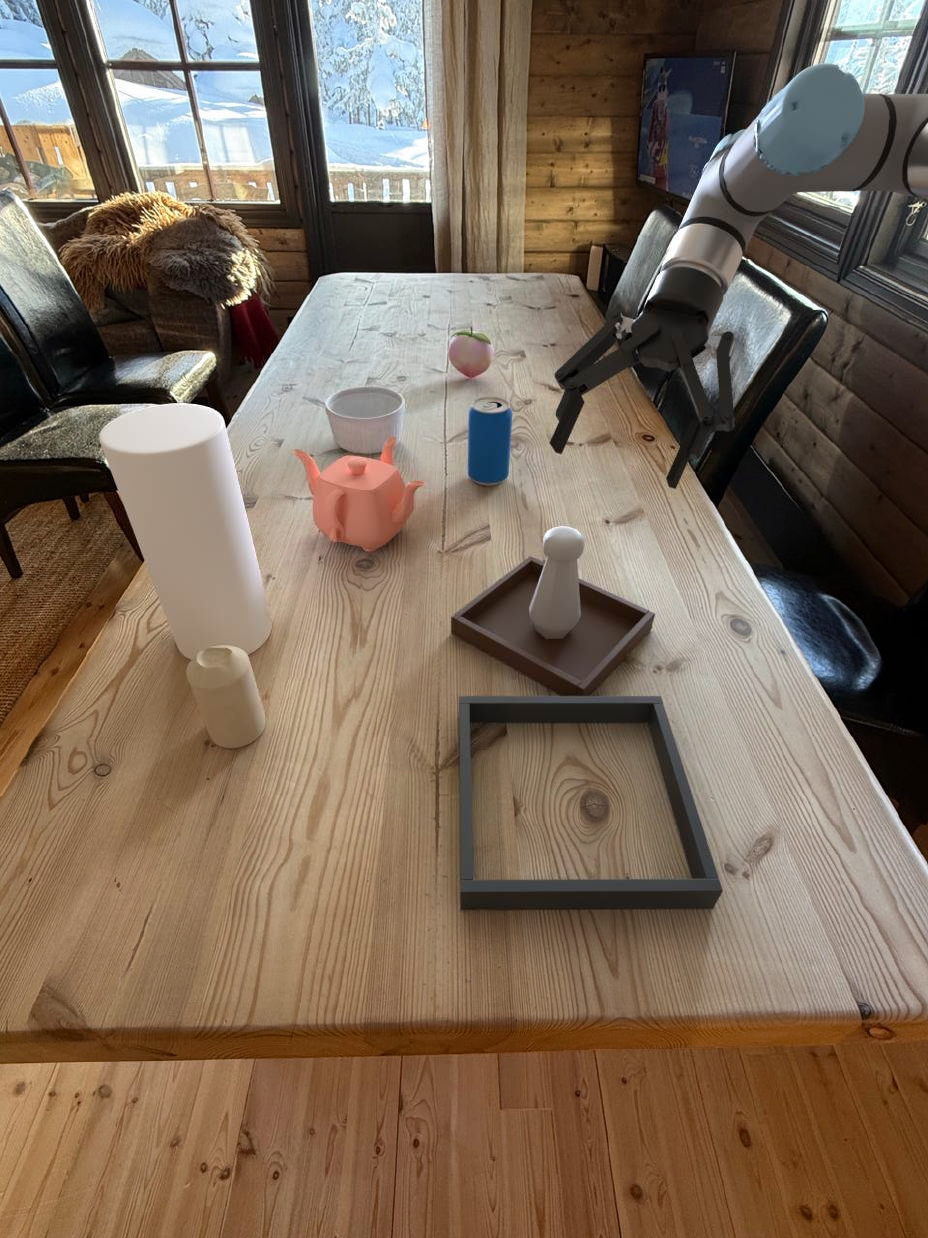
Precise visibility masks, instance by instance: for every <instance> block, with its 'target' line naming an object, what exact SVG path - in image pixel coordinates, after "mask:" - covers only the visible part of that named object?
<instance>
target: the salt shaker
mask: <svg viewBox="0 0 928 1238" xmlns="http://www.w3.org/2000/svg"><path fill="white" fill-rule="evenodd" d="M585 545H586V544H585V538H584V535H583V534H582V533H581V532H580V531H578V529H576V528H573V527H571V526H566V525H564V526H563V525H561V526H555V527H552V528H551V529H548V530H547V531H546V532H545V534H544V536H543V539H542V551H543V555H545V556H546V559H545V561H544V562H545V565H544V567H543V570H542V573H541V576H540V579H539V581H538V584H537V587H536V590H535V593H534V596H533V598H532V601H531V604H530V607H529V612H530V619H531V621H532V624H533V626H534V629H535V631H537V632H538V633H539V634H541V635H542V636H543V637H545V638H546V639H563V638H564V637H565V636H566V635H567V634H568V633H569V632H570V631H571V630H572V629H573V628H574V627H575V626H576V624H577V622H578V620H579V618H580V616H581V611H580V595H579V580H578V578H579V566H578V565H579V564H578V560H579V559H580V558H581V557H582V554H583V553H584V550H585Z"/></svg>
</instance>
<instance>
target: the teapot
mask: <svg viewBox="0 0 928 1238" xmlns="http://www.w3.org/2000/svg"><path fill="white" fill-rule="evenodd" d="M395 443H396V437H391V438H390V439H388V440H387V442H386V443H385V445H384V448H383V451H382V452H381V455H380V458H379V460H378V459H374V458H372V457H371V458H370V457H365V456H359V455H343V456H341V457H340V458H339V459H338V458H337V460H334V462H332V463H331V464H330V465H329V466H327V467H326V468H325V469H323V471H321V472H320V470H319V468H318V466H317V464H316V462H315V460H314V458H312V457H311V455H310V454H309V453H307V452H305V451H303V450H301V449H300V450H299V449H293V451H292V452H293V454H294V455H295V456H296V457H297V458H298V459H299V460H300V461H301V463H302V464H303V467H304V469H305V473H306V479H307V484H308V488H309V491H310V493H311V495H312V496H313V497H312V518H313V522H314V525H315V526H316V527H317V529H318V531H320V533H322V535H325V536H326V537H329V538H328V539H329V540H330V541H331V542H333V543H340V542H341V543H342V544H343V543H344V544H347V545H351V546H354V547H355V546H356V547H362V550H363V551H365V552H375V551H377V550H378V549H379V548H381V547H383V546H385V545H386V544H387V543H389V542H390V541H391V540H392V539H393V538H394V537H396V536H397V534H398V533H399V532H400V531H401V530H402V529H403V528H404V526H405V525H406V524H407V523H408V520H409V519H410V517H411V516H412V514H413V512H414V508H415V495H416V491H417V490H418V488H420V487H422V486H424V485H426V482H425V481H423V480H413V481H410V482H408V483H407V484H405V481H404V479H403V477H402V475H401V473H400V471H399V468H398V467H396V466H395V464H394V463H395V462H394V449H395V446H396V445H395ZM394 445H395V446H394Z"/></svg>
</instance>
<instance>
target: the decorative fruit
mask: <svg viewBox="0 0 928 1238" xmlns="http://www.w3.org/2000/svg"><path fill="white" fill-rule="evenodd" d="M450 337H451V338H452V337H453V338H452V340H451V341H450V343H449V345H448V350H447V356H448V360H449V362H450V364H451V365H452V367H454V369H455V370H456V371H458V372H459V373H460V374H462V375H463V376H464V377H467V378H470V379H473V378H476V377H477V376H480V375H482V374H483V373H485V372H486V371H488V369H489V368H490V367H491V364H492V362H493V358H494V346H493V343H492V341H491V339H490V338H489V336H488V335H487V334H485V333H483V332H479V331H473V326H471V327H470V331H469V330H465V329H461V330H458V331H455V332H453V333H452V334H451V336H450Z"/></svg>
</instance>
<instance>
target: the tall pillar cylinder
mask: <svg viewBox="0 0 928 1238" xmlns="http://www.w3.org/2000/svg"><path fill="white" fill-rule="evenodd" d="M98 438H99V443H100V445H101V449H102V451H103V453H104V457H105V459H106V461H107V465H108V467H109V469H110V473H111V475H112V477H113V480H114V483H115V485H116V488H117V490H118V493H119V496H120V499H121V501H122V502H121V503H122V505H123V507H124V510H125V512H126V515H127V518H128V520H129V523H130V526H131V528H132V530H133V533H134V537H135V538H136V540H137V544H138V546H139V549H140V552H141V555H142V557H143V559H144V562H145V565H146V568H147V571H148V573H149V576H150V578H151V582H152V585H153V587H154V589H155V591H156V594H157V597H158V600H159V602H160V605H161V607H162V610H163V613H164V616H165V618H166V621H167V624H168V626H169V629H170V632H171V635H172V637H173V639H174V642H175V645H176V648H177V649H178V651H179V653H180V654H181V655H182V656H183V657H185V658H186V659H187V660H190V661H191V660H192V659H193V658H194V657H195V656H196V655H197V654H198V652H199V651H202V650H204V649H206V648H210V647H213V646H219V645H228V646H234V647H237V648H240V649H242V650H243V651H244V652H245V653H246V654H247V655H248V656H250V655H251V654H252V653H254V652H256V651H257V650H258V649H259V648H261V647H262V646H263V645H264V644H265V643H266V642H267V640H268V639H269V638H270V635H271V633H272V630H273V620H272V617H271V612H270V607H269V603H268V599H267V595H266V591H265V587H264V582H263V578H262V573H261V570H260V565H259V562H258V556H257V552H256V549H255V545H254V540H253V536H252V532H251V531H252V530H251V527H250V523H249V519H248V515H247V512H246V506H245V502H244V498H243V494H242V491H241V486H240V482H239V477H238V473H237V469H236V465H235V461H234V456H233V453H232V447H231V443H230V440H229V435H228V431H227V426H226V423H225V419H224V417H223V416H222V414H221V413H220V412H219V411H217V410H215V409H214V408H211V407H208V406H205V405H201V404H194V403H165V404H164V403H163V404H158V405H152V406H146V407H141V408H138V409H134V410H132V411H129V412H126V413H123V414H121V415H119V416H117V417H115V418H113V419H112V420H111V421H109V422H108V423H106V425H105V426H104V427H103V428H102V429H101V430H100V432H99V437H98Z"/></svg>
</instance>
